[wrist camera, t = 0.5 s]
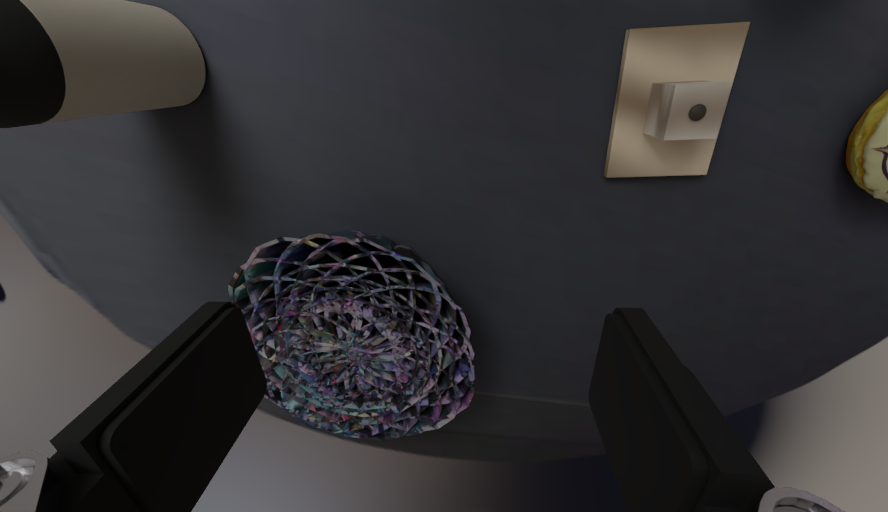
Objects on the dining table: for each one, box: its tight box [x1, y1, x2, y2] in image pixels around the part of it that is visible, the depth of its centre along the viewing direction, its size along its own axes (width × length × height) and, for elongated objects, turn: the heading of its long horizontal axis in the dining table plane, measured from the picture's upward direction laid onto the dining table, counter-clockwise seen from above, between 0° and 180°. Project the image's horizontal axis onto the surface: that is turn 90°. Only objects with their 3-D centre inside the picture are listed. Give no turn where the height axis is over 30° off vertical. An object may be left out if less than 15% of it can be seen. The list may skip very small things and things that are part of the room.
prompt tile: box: [604, 22, 750, 178], centre depth 30 cm, size 12×9×5 cm
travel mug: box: [0, 0, 206, 128], centre depth 25 cm, size 8×8×18 cm
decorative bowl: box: [228, 230, 475, 441], centre depth 41 cm, size 26×28×10 cm
